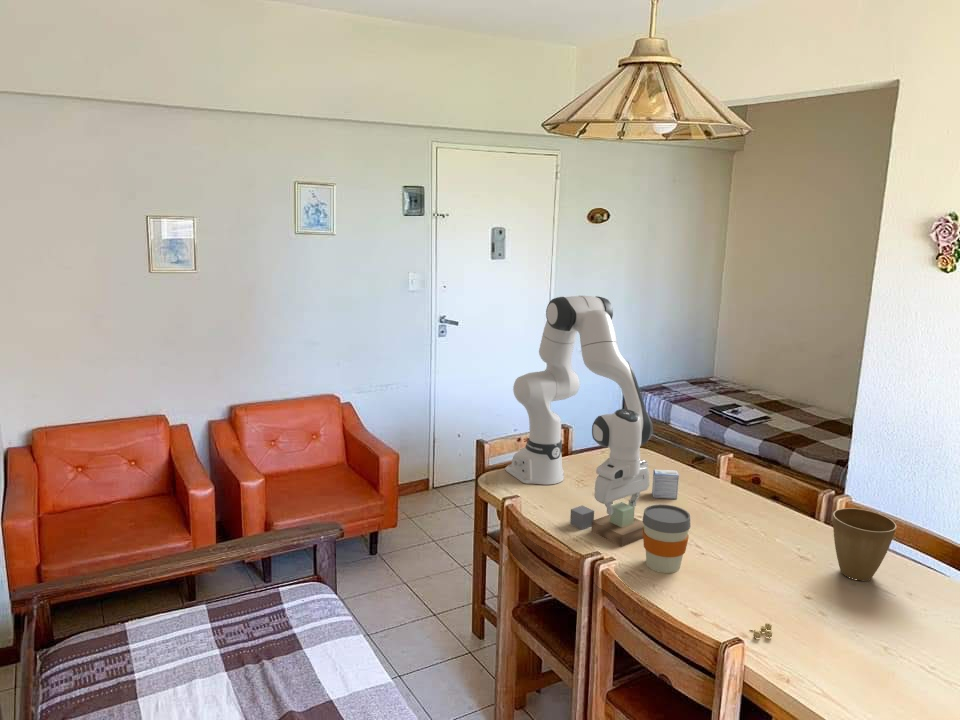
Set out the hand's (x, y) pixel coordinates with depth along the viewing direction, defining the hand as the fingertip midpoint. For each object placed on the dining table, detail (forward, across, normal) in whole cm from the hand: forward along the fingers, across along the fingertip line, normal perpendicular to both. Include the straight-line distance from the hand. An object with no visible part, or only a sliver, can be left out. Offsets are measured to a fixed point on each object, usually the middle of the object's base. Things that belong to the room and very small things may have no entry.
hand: (621, 510), depth 218 cm
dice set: (+8, +13, +55) cm, 57 cm away
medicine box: (+8, -34, -11) cm, 37 cm away
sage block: (+4, 0, 0) cm, 4 cm away
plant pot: (+8, -33, +54) cm, 64 cm away
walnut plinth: (+8, 0, 0) cm, 8 cm away
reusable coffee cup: (+8, +5, +20) cm, 22 cm away
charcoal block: (+8, +5, -11) cm, 14 cm away
